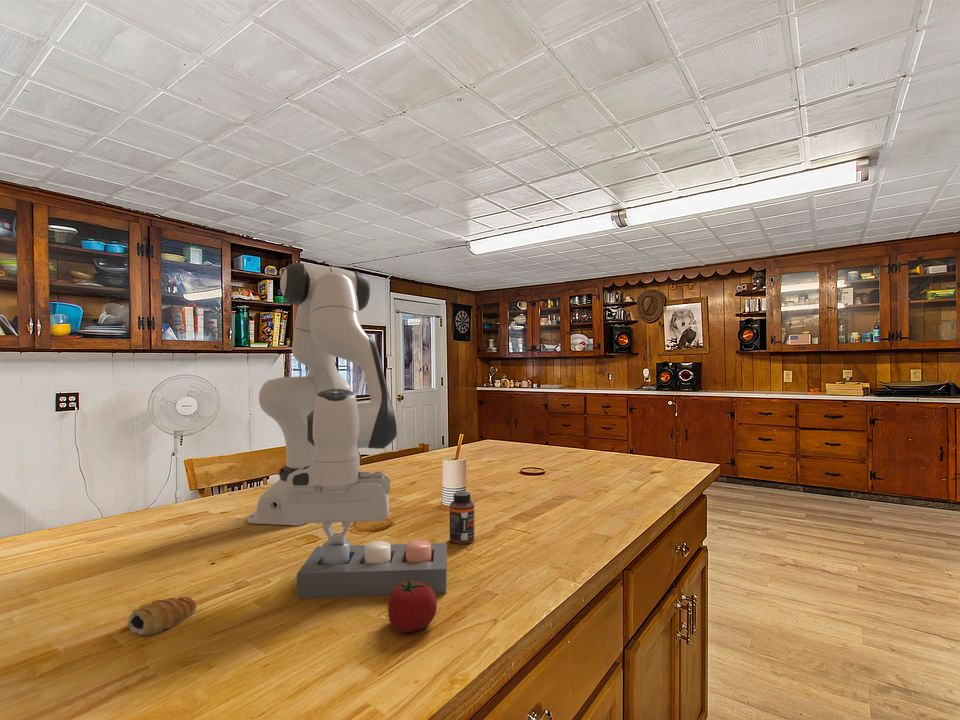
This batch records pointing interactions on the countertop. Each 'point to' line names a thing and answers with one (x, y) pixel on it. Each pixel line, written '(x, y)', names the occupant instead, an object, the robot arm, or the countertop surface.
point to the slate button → (336, 554)
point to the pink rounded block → (418, 551)
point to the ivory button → (378, 552)
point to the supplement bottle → (462, 518)
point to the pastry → (160, 615)
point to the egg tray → (370, 573)
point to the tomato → (411, 606)
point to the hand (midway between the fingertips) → (337, 543)
